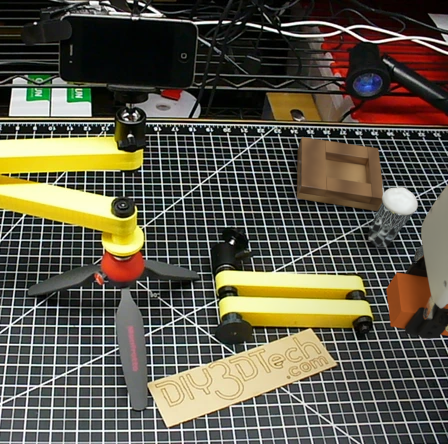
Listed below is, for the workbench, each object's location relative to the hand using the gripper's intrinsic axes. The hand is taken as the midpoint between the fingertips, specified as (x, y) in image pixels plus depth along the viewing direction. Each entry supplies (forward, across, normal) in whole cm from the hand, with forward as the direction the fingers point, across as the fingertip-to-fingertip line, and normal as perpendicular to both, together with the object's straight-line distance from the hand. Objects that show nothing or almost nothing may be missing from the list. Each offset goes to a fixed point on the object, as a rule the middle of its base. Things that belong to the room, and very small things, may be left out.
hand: (417, 309), depth 59 cm
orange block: (0, 0, 0) cm, 0 cm away
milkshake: (+14, +21, -2) cm, 25 cm away
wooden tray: (+14, +32, +3) cm, 35 cm away
